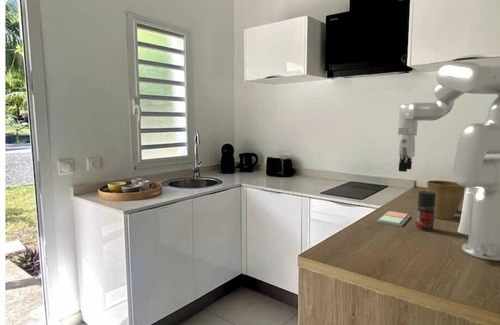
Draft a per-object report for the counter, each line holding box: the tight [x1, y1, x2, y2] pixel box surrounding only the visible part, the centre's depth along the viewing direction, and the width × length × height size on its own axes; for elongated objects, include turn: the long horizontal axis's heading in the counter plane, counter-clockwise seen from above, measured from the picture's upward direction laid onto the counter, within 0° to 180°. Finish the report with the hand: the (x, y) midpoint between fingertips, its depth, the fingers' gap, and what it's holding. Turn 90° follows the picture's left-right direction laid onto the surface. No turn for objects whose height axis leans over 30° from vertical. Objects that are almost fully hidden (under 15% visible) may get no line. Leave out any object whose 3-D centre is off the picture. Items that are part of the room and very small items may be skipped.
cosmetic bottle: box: [457, 188, 476, 236], centre depth 126 cm, size 6×6×22 cm
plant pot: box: [426, 180, 466, 221], centre depth 147 cm, size 15×15×16 cm
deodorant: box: [415, 190, 436, 232], centre depth 131 cm, size 6×6×15 cm
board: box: [375, 210, 411, 228], centre depth 144 cm, size 18×10×1 cm, turn 143°
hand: (405, 170), depth 147 cm, fingers open, 9 cm apart
